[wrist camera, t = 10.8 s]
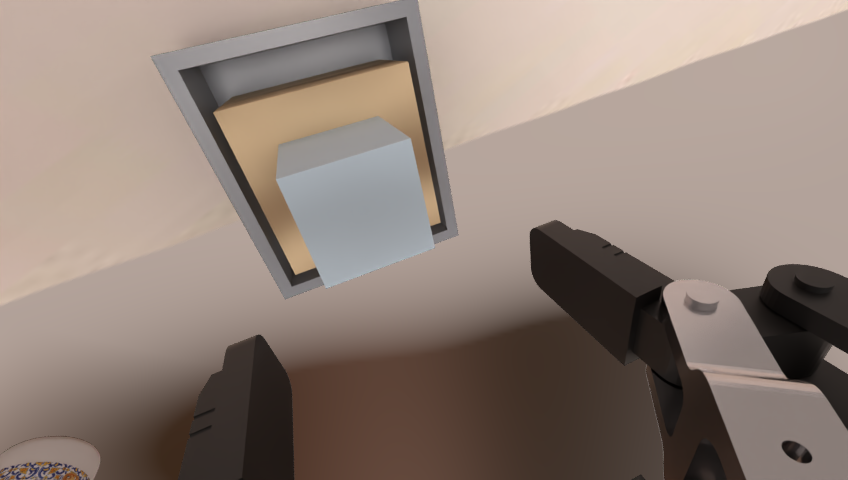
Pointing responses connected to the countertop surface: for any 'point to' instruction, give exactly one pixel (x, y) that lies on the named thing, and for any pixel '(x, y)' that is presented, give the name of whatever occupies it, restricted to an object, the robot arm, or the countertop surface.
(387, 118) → the oak block
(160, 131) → the countertop surface
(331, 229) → the light blue cube
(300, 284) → the tote
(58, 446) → the bath foam
